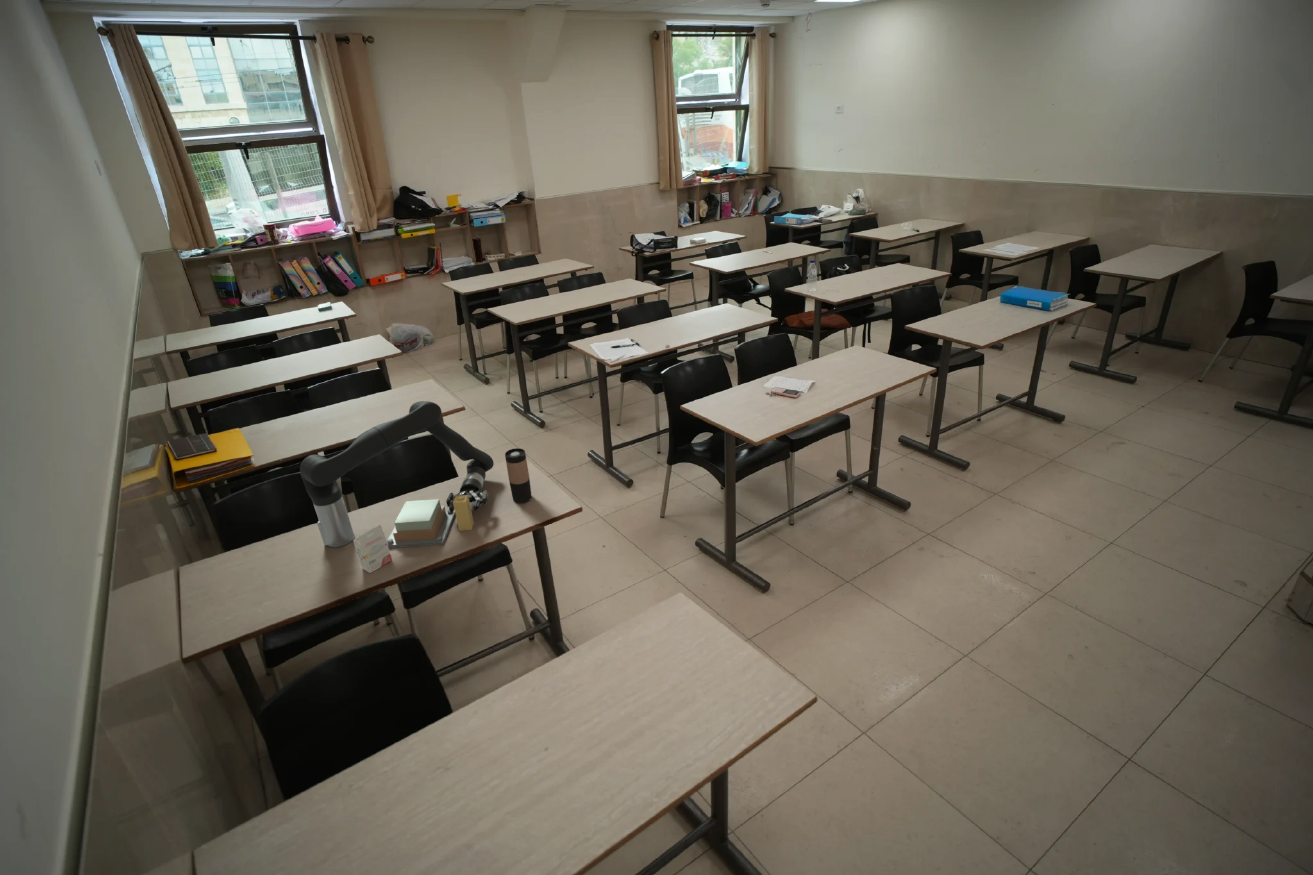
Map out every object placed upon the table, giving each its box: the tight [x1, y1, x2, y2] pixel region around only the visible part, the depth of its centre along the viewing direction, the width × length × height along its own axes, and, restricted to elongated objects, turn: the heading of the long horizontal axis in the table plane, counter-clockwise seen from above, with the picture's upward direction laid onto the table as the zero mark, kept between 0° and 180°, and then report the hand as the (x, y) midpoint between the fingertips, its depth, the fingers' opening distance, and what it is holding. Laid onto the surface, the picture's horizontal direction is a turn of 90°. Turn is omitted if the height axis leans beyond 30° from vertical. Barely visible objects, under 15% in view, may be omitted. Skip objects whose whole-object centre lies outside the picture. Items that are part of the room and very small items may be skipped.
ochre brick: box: [453, 495, 475, 532], centre depth 234 cm, size 4×4×13 cm
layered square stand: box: [386, 498, 456, 549], centre depth 235 cm, size 20×20×8 cm
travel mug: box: [504, 447, 532, 504], centre depth 248 cm, size 8×8×20 cm
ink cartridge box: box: [352, 524, 393, 574], centre depth 216 cm, size 9×5×15 cm, turn 143°
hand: (463, 509), depth 235 cm, fingers open, 8 cm apart
